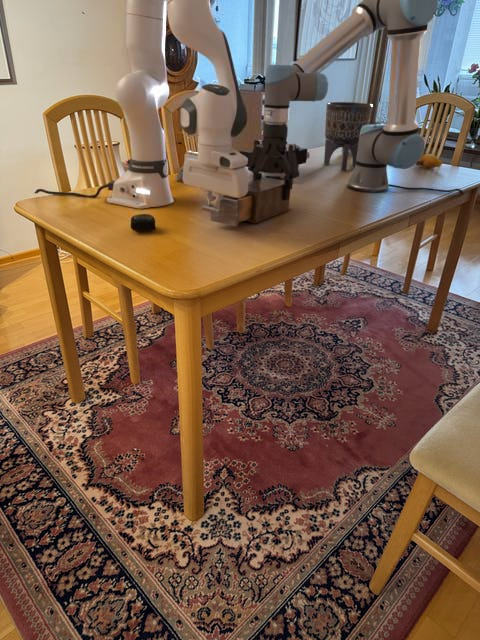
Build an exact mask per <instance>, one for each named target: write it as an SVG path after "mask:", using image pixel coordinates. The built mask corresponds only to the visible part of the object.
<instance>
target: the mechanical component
mask: <svg viewBox="0 0 480 640" xmlns="http://www.w3.org/2000/svg"><path fill="white" fill-rule="evenodd" d="M263 150H264V147H263V145H262V147H261V150H260V154H259V157H258V160H259V159H260V157H261V155H262V152H263ZM238 152H239V153H241V154H242V155H244V156H245V157H247V159H248V163H247V165H246V166H244V167H245V168H248V167H249V163H250V160H251V156H252V153H253V151H250V150H245V149H241V150H239V151H238ZM285 152H286V155H287V156H286V157H287V160H288V162H289V156H288V151H287V148H286V149H285ZM295 153H296V159H297V165H298V168H299V167H300V165H303V164H304V165H305V164H307V160H309V158H310V156H311V154H310V152H309V151H308V148H304V147H301V146H299V145H297V144H296V150H295ZM281 155H282V154H281ZM258 160H257V162H258ZM289 165H290V162H289ZM260 171H261V172H259V173H262V174H261V178H264V177H265V178H267V177H279V178H280V179H285V177H286V175H285V172H284V170H283V167H282V165H281V162H280V160H279V159H278V157H277V156H273V155H269V156H268V158H267V159H266V161H265V163H264V165H263V166H262V168H261V170H260Z"/></svg>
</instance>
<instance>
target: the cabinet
mask: <svg viewBox="0 0 480 640" xmlns="http://www.w3.org/2000/svg"><path fill="white" fill-rule="evenodd" d="M283 193H284V180H281V179H276V178H271V177H261V178H260V179H256V180H253V179H252V180H248V192H247V194H250V195H254V205H253V217H252V218H249V219H246V220H244V221H245V222H248V223H253V224H257V223H259V222H262V221H264V220H267V219H269V218H272V217H275V216H277V215H280V214H282V213H284V212H288V211H289V210H290V199H291V194H290V195H289V199H288V200H285V201H284V200H283ZM244 221H243V222H244Z"/></svg>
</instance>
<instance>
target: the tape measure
mask: <svg viewBox="0 0 480 640" xmlns="http://www.w3.org/2000/svg"><path fill="white" fill-rule="evenodd" d="M130 229H131V230H132V231H134V232H143V233H144V232H147V231H155V230H156V219H155V217H154V216H153V215H152V214H149V213H139V214H138V213H137V214H135V215H133V216H132V217H131V218H130Z"/></svg>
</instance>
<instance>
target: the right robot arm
mask: <svg viewBox="0 0 480 640" xmlns="http://www.w3.org/2000/svg"><path fill="white" fill-rule="evenodd" d="M438 7H439V0H362V1H360V2H359V3H358V4H357V5H356V6H355V7H354V8H353V9H351V14H350V15H349V16H348V17H347V18H345V20H344V21H342V22H341V23H340V24H339V25H338V26H336V27H335V28H334V29H333V30H332V31H330V32H329V33H327V35H325V36H324V37H323V38H322V39H321V40H320V41H319V42H318V43H316V44H315V45H314V46H312V48H310V49H309V50H308V51H307V52H306V53H304V54H303V55H302V56H301V57H300V58H299V59H297V60H296V61H295V62H294V63H293V64H291V65H290V64H269V65H268V66H267V67H266V69H265V78H264V79H265V80H264V107H263V122H264V124H262V136H263V138H262V139H261V138H259V139H254V140H253V149H252V152H253V153H252V156H251V160H250V163H249V167H247V171H249V172H251V173H252V181H253V180H256V179H260V178H262V175H261V174H262V173H259V172H261V171H260V170H261V168H262V166H263V165H264V163H265V161H266V159H267V158H268V156H269V155H273V156H277V157H278V159H279V160H280V162H281V165H282V167H283V170H284V172H285V175H286V176H285V177H286V178H283V179H284V180H283V181H284V193H283V200H284V201H285V200H288V199H289V195H290V196H291V190H292V189H293V187H294V186H293V184H294V179H296V178H299V177H300V171H299V167H298V165H297V159H296V153H295V150H296V145H297V144H296V143H288V141H287V140H288V135H289V134H288V132H289V124H287V123H289V120H290V105H291V102H313V103H315V102H320V101H321V102H322V101H323V100H324V99H325V98H326V96H327V94H328V91H329V80H328V77H327V76H326V75H325V74H324V73H322V72H323V71H324V70H325V69H327V68H328V67H329V66H331V65H332V64H333V63H334V62H335V61H337V60H338V59H339V58H340V57H342V55H344V54H345V53H346V52H347V51H348V50H349V49H351V48H353V46H355V45H356V44H357V43H358V42H359V41H360V40H362V39H363V38H369V37H370V36H372V34H374V33H376V32H377V31H379V30H382V29H385V28H386V29H387V30H386V31H387V32H386V36H387V38H389V40H390V41H391V52H390V53H391V54H390V71H389V91H388V92H389V93H388V94H389V95H388V111H387V112H388V113H387V122H386V124H384V123H383V124H382V123H381V124H369V125H364V126H363V127H362V128H361V131H360V135H359V143H358V150H357V158H356V165H355V166H354V167H353V171H351V174H350V176H349V179H348V180H347V181H348V182H347V187H348V188H349V189H351V190H354V191H358V192H363V193H364V192H365V193H382V192H386V191H388V189H389V187H391V188H398V189H402V190H409V191H410V190H412V191H414V190H415V191H416V190H417V191H419V190H421V191H422V190H423V191H432V192H439V193H452V192H455V191H456V192H460V194H464V191H463V190H462V189H461V188H453V189H439V188H438V189H437V188H430V187H407V186H401V185H396V184H389V178H388V173H387V172H388V171H387V166H389V167H392V168H394V169H401V170H407V169H409V168H412V167H413V166H415V165H416V163H417V161H418V160H419V159H420V158H421V156H423V154H424V151H425V147H426V143H425V139H424V138H423V136H421V135H420V134H419V130H420V125H419V124H418V123H417V121H416V119H415V118H416V109H417V108H416V107H417V94H418V82H419V71H420V70H419V69H420V58H421V45H422V37H423V36H424V35H425V34H426V33H427V31H428V26H429V25H428V24H429V23H430V22H431V21H432V20H433V18H434V16H435V15H436V13H437V10H438ZM262 146H263V147H264V150H263V152H262V155H261V157H260V159H259V160H258V157H259V154H260V150H261V147H262ZM286 148H287V151H288V156H289V162H290V165H289V162H288V160H287V157H286V156H287V155H286V152H285V149H286ZM281 154H282V155H281ZM257 160H258V162H257Z"/></svg>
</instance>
